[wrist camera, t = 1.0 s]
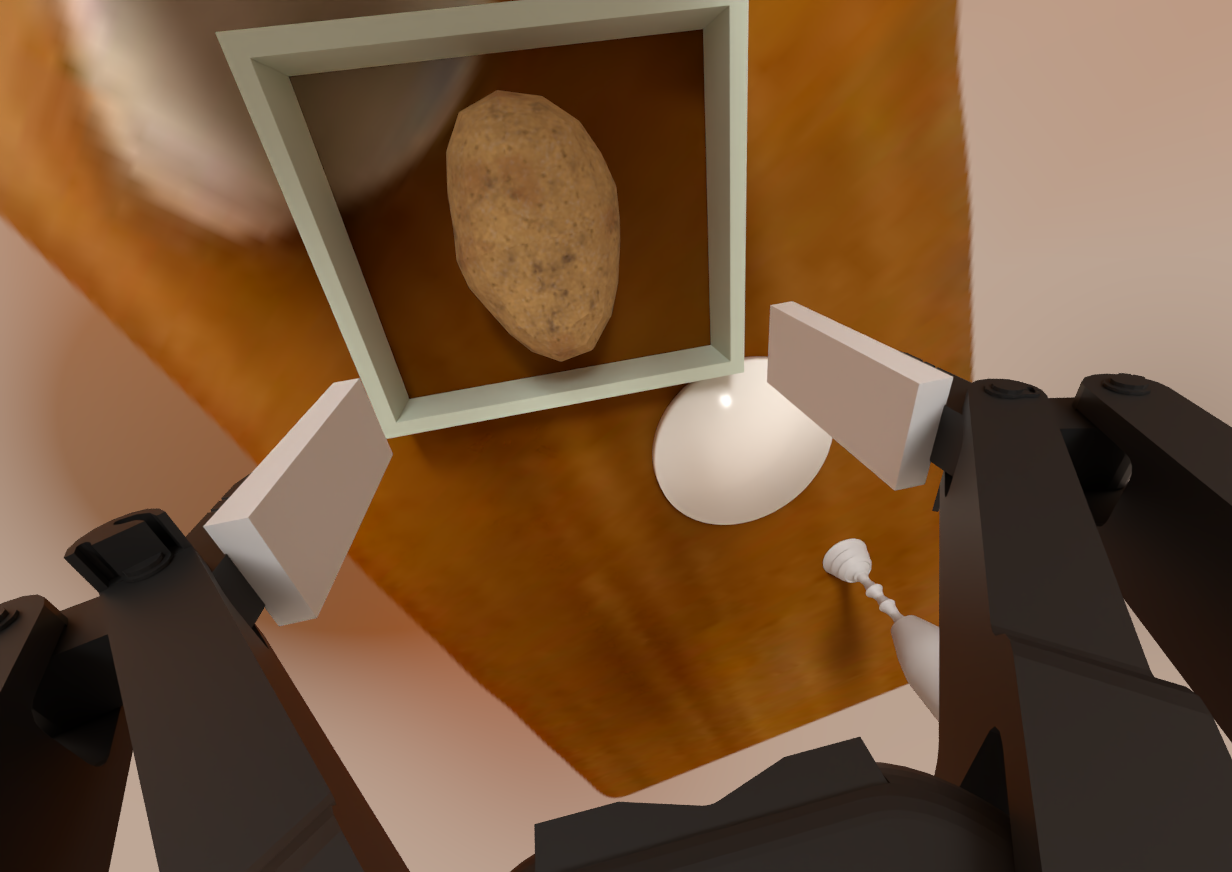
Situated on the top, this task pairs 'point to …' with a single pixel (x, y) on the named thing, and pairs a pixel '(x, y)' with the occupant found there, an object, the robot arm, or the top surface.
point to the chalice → (909, 633)
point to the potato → (534, 221)
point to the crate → (542, 17)
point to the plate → (735, 448)
